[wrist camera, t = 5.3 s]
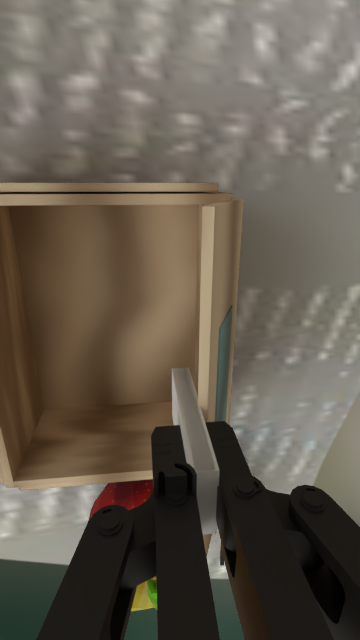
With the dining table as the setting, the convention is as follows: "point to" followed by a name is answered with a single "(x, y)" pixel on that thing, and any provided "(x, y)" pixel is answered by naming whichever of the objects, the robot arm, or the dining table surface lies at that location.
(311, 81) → the dining table surface
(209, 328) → the flap
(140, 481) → the fruit
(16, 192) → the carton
